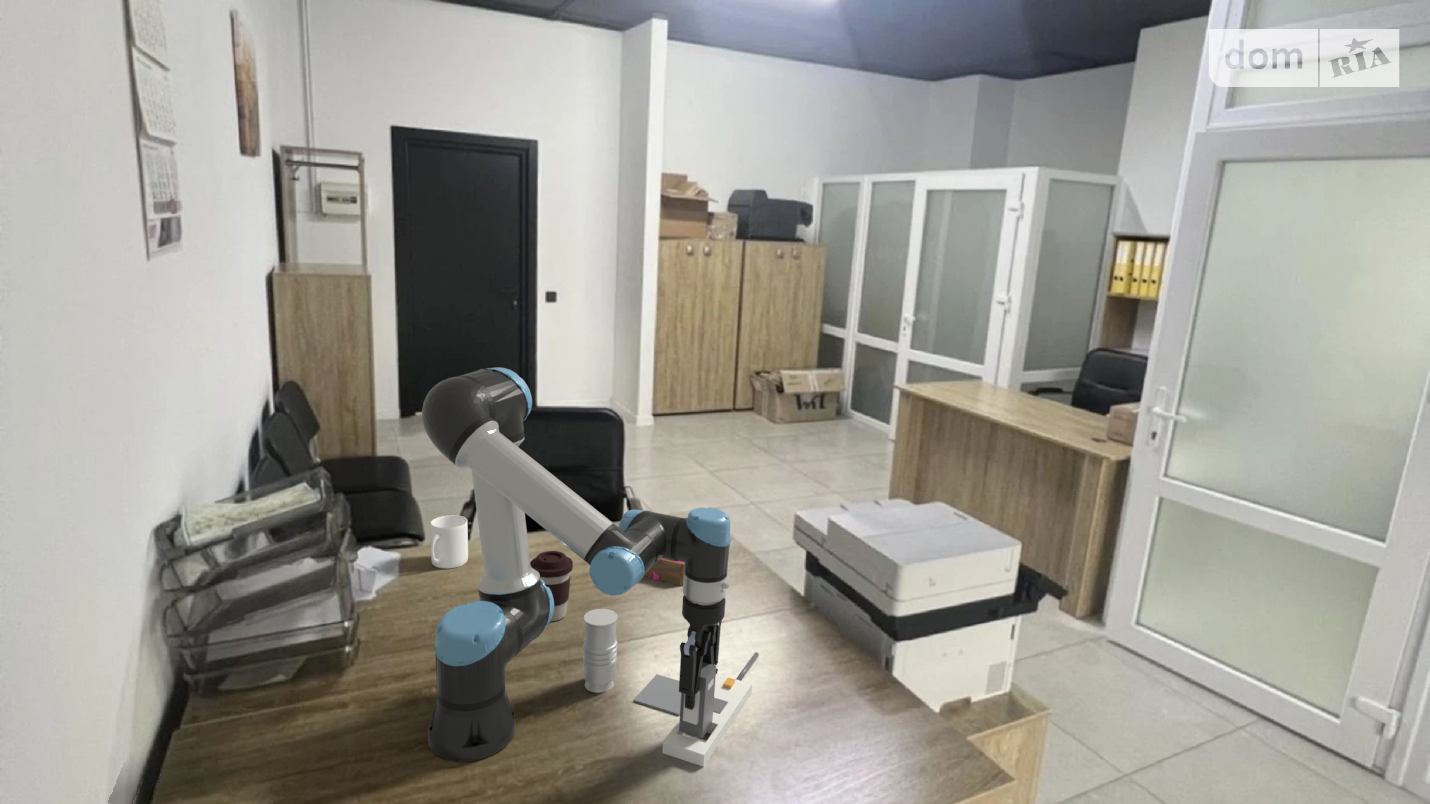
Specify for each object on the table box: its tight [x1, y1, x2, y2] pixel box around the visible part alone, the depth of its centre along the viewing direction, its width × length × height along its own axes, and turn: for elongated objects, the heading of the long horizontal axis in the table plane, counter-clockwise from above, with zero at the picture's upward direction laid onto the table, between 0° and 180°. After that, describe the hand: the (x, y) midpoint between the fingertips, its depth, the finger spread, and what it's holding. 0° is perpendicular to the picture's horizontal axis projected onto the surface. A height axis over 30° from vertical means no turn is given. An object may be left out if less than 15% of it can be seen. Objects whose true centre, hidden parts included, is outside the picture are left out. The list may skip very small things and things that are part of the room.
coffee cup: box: [530, 550, 574, 623], centre depth 181 cm, size 10×10×15 cm
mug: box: [429, 514, 469, 570], centre depth 205 cm, size 10×12×12 cm
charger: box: [678, 662, 717, 739], centre depth 138 cm, size 5×5×12 cm
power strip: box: [662, 651, 760, 768], centre depth 152 cm, size 38×8×3 cm, turn 157°
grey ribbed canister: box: [582, 608, 619, 694], centre depth 154 cm, size 7×7×15 cm
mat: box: [633, 673, 681, 717], centre depth 153 cm, size 10×10×1 cm
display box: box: [643, 558, 685, 587], centre depth 209 cm, size 14×16×6 cm
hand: (696, 713), depth 139 cm, fingers closed on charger, 5 cm apart
